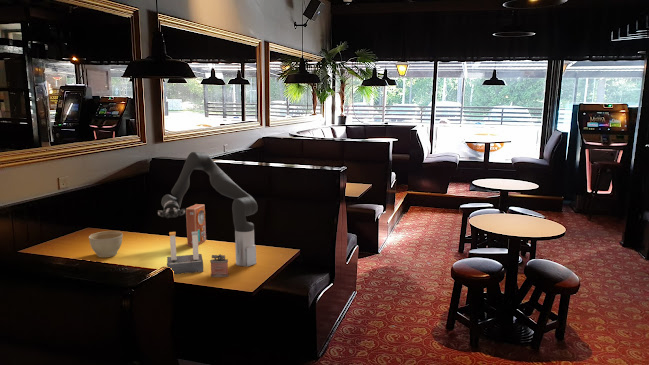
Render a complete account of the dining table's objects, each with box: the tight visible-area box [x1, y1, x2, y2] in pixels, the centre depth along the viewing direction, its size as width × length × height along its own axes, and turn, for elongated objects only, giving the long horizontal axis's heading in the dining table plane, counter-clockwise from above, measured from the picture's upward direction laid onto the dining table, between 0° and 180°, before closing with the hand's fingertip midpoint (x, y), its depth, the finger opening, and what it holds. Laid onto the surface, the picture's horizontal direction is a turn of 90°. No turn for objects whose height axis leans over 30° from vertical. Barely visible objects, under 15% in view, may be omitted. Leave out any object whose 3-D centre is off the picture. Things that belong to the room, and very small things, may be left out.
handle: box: [192, 231, 200, 260], centre depth 227 cm, size 3×3×13 cm
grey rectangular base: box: [166, 253, 204, 275], centre depth 230 cm, size 12×16×5 cm
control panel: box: [185, 203, 207, 247], centre depth 271 cm, size 21×7×15 cm
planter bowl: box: [88, 230, 124, 258], centre depth 251 cm, size 16×16×11 cm
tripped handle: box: [168, 231, 177, 260], centre depth 227 cm, size 3×3×13 cm
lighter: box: [209, 254, 230, 278], centre depth 221 cm, size 8×3×10 cm, turn 92°
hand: (171, 215), depth 235 cm, fingers open, 3 cm apart
